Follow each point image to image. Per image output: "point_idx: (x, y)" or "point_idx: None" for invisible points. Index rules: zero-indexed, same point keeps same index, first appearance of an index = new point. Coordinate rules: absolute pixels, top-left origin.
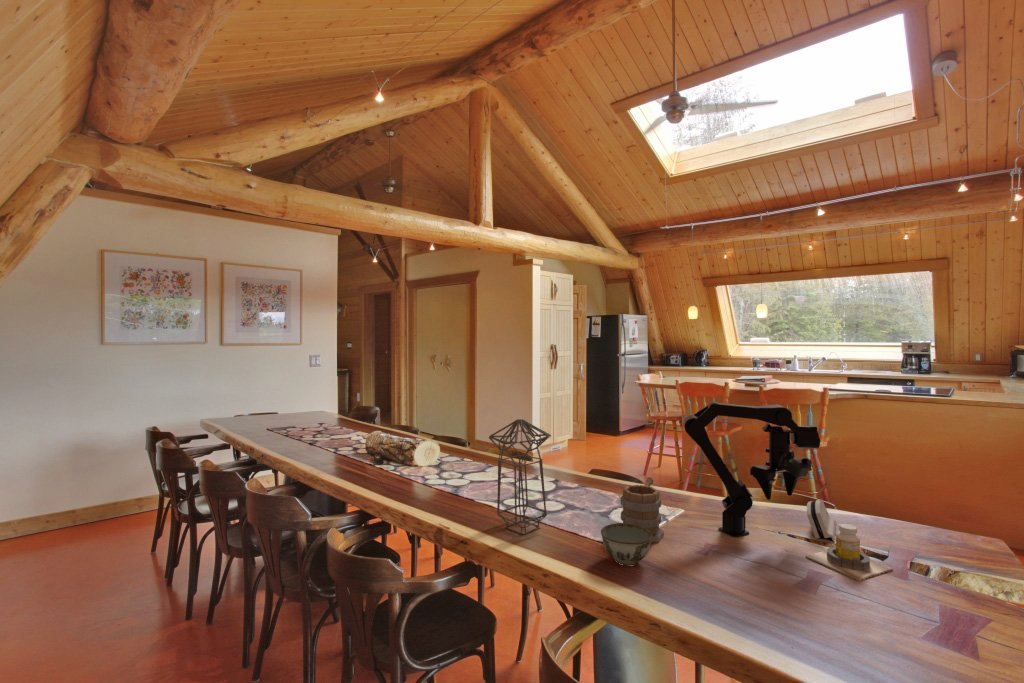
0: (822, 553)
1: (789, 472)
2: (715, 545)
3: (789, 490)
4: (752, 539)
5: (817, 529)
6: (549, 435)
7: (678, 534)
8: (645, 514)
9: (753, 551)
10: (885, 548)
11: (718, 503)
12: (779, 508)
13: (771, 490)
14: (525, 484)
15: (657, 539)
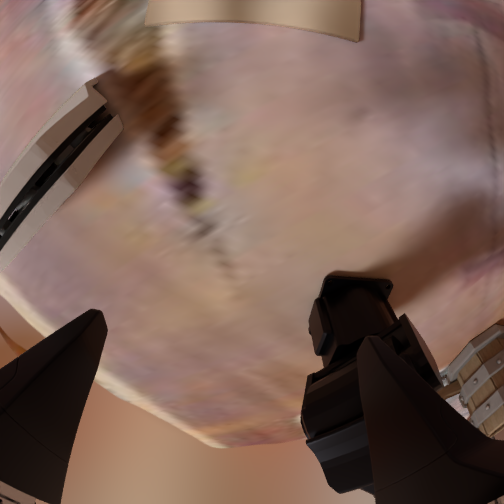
0: (272, 12)
1: (16, 489)
2: (467, 268)
3: (86, 350)
4: (362, 242)
5: (97, 130)
6: None
7: (449, 339)
8: None
9: (447, 185)
10: (33, 15)
11: (184, 407)
12: (58, 328)
13: (412, 397)
14: (493, 438)
15: (499, 327)
